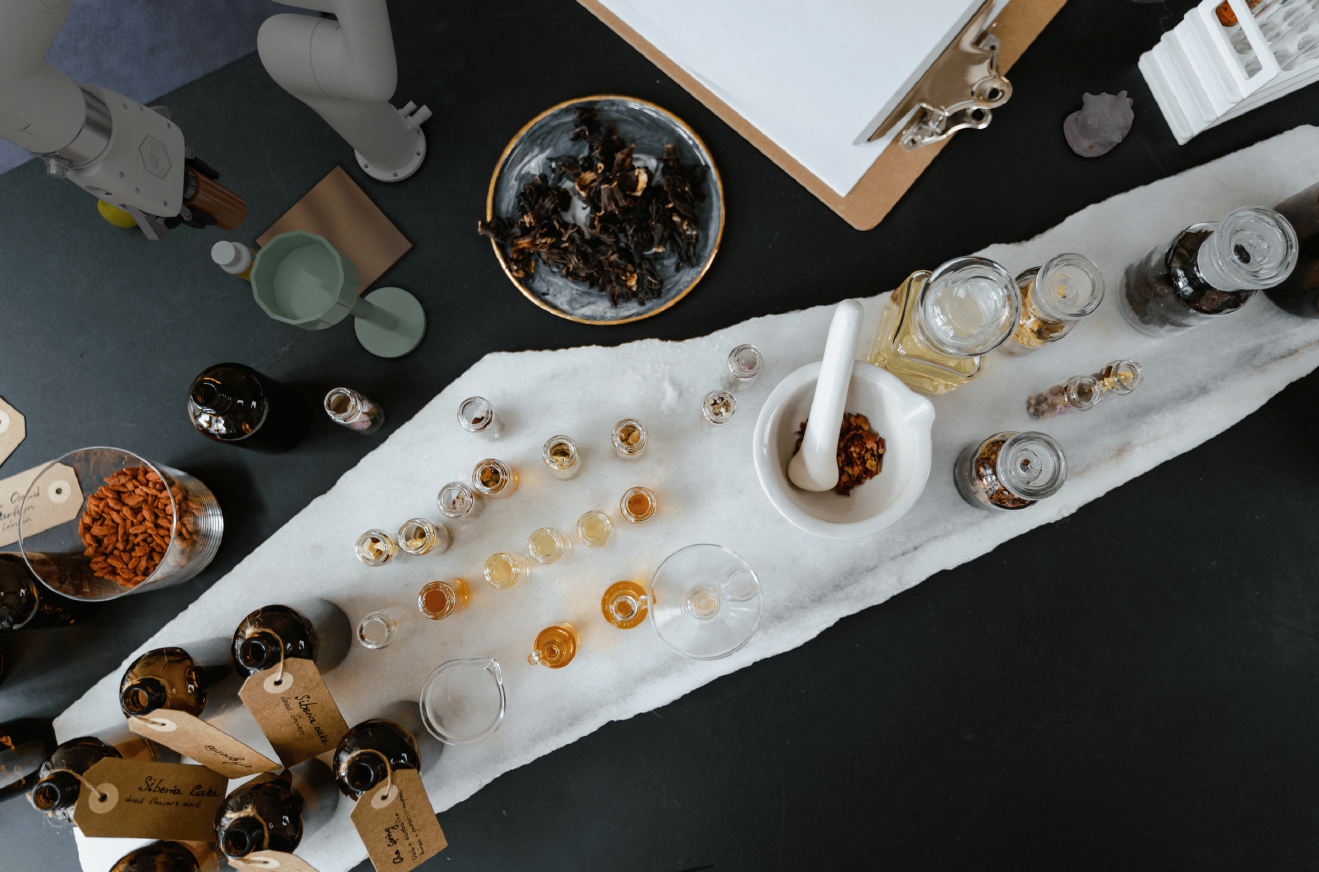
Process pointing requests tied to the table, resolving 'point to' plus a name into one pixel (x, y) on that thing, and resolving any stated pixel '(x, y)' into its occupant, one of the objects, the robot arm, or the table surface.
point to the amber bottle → (213, 199)
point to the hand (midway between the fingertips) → (205, 198)
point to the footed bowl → (332, 294)
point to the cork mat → (346, 226)
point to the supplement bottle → (234, 258)
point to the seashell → (1099, 123)
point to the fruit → (116, 215)
